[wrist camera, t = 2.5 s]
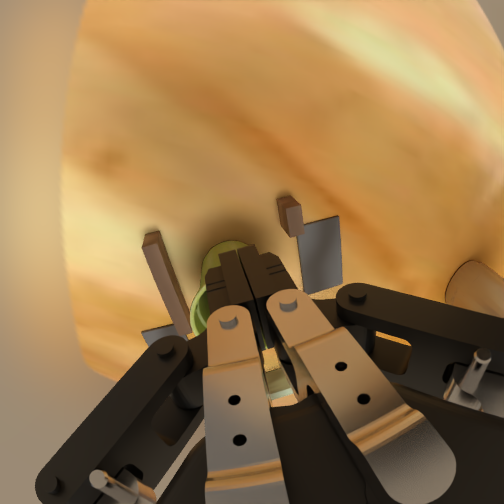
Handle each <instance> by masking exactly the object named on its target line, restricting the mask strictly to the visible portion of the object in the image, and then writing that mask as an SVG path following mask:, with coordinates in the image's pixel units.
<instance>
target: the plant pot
mask: <svg viewBox="0 0 504 504" xmlns="http://www.w3.org/2000/svg"><path fill="white" fill-rule="evenodd" d="M245 246H249V245H247V244H245V243H242V242H240V241H226V242H223V243H220V244H218V245H216V246H214V247H213V248H212V249H211V250H210V251H209V253H208V254H207V255H206V257H205V258H204V260H203V264H202V272H201V281H200V289H199V291H198V292H197V294H196V296H195V297H194V299H193V302H192V305H191V309H190V323H191V327H192V330H193V332H194V334H195V336H198V335H200V334H201V333H202V332H203V331H204V330H205V329H206V328H207V321H208V318H209V317H210V310H209V304H208V297H207V291H206V284H205V275H206V273H207V271H208V269H210V268H214V267H218V266H221V264H220V260H219V256H218V254H219V253H223V252H227V251H230V250H234V249H235V250H236V253H237V249H238V248H241V247H245ZM237 255H238V253H237ZM238 258H239V257H238ZM262 336H263V335H262ZM263 340H264V337H263ZM264 344H265V348H266V349H267V346H266V343H265V340H264Z"/></svg>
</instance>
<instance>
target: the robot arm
mask: <svg viewBox="0 0 504 504" xmlns="http://www.w3.org/2000/svg"><path fill="white" fill-rule="evenodd" d="M237 253H238V255H237ZM237 253H236V250H235V249H234V250H230V251H227V252H223V253H219V254H218V256H219V260H220V264H221V266H218V267H214V268H210V269H208V271H207V273H206V275H205V284H206V291H207V297H208V304H209V310H210V317H209V318H208V321H207V328H206V329H205V330H204V331H203V332H202V333H201V334H200V335H198V336H196V337H194V338H192V339H191V340H189V341H186V340H185V339H184V338H182V337H180V336H176V335H170V336H165V337H162V338H160V339H158V340H156V341H155V342H154V343H152V344H151V345H150V346H149V348H148V349H147V350H146V351H145V352H144V353H143V354H142V355H141V357H140V358H139V359H138V360H137V361H136V362H135V363H134V364H133V366H132V367H131V368H130V369H129V370H128V371H127V372H126V373H125V375H124V376H123V377H122V378H121V379H120V380H119V381H118V382H117V384H116V385H115V386H114V387H113V388H112V389H111V390H110V392H109V393H108V394H107V395H106V396H105V397H104V398H103V400H102V401H101V402H100V403H99V404H98V405H97V406H96V408H95V409H94V410H93V411H92V412H91V413H90V414H89V416H88V417H87V418H86V419H85V420H84V421H83V422H82V424H81V425H80V426H79V427H78V428H77V429H76V431H75V432H74V433H73V434H72V435H71V436H70V438H69V439H68V440H67V441H66V442H65V443H64V444H63V445H62V447H61V448H60V449H59V450H58V451H57V453H56V454H55V455H54V456H53V457H52V458H51V460H50V461H49V462H48V463H47V464H46V465H45V467H44V468H43V469H42V470H41V471H40V473H39V474H38V476H37V479H36V482H35V490H36V494H37V497H38V499H39V500H40V501H41V502H42V503H43V504H504V278H502V277H501V276H500V275H498V274H497V273H496V272H494V271H493V270H492V269H490V268H489V267H488V266H486V265H485V264H484V263H482V262H480V263H478V262H476V261H469V262H467V263H465V264H464V265H463V266H461V267H460V268H459V269H458V271H457V272H456V273H455V275H454V276H453V277H452V279H451V281H450V283H449V285H448V288H447V291H446V296H445V299H446V303H447V304H444V303H440V302H436V301H432V300H428V299H424V298H420V297H416V296H412V295H408V294H404V293H400V292H397V291H393V290H389V289H385V288H381V287H377V286H373V285H369V284H365V283H352V284H348V285H345V286H343V287H342V288H340V289H339V290H338V292H337V294H336V299H325V300H316V299H311V298H310V297H309V296H308V295H307V294H306V293H305V292H304V291H301V290H298V288H297V287H296V285H295V283H294V282H293V280H292V279H291V277H290V275H289V274H288V272H287V271H286V269H285V267H284V265H283V264H282V262H281V260H280V259H279V257H278V256H276V255H274V254H272V253H270V252H268V253H265V254H261V255H259V253H258V251H257V249H256V247H255V245H254V244H252V245H249V246H245V247H241V248H238V249H237ZM238 257H239V258H238ZM376 331H378V332H381V333H385V334H388V335H391V336H395V337H398V338H401V339H404V340H406V341H408V342H409V343H410V344H411V346H408V345H404V344H401V343H398V342H394V341H391V340H388V339H384V338H381V337H378V336H376ZM262 335H263V336H262ZM263 337H264V340H265V343H266V346H267V348H268V349H270V348H273V347H274V348H275V351H276V353H277V358H278V363H279V365H280V367H281V369H282V371H283V373H284V375H285V377H286V379H287V381H288V383H289V385H290V387H291V389H292V391H293V393H294V395H295V397H296V399H297V401H298V403H296V404H294V405H291V406H281V407H273V404H272V400H271V395H270V391H269V386H268V382H267V378H266V373H265V369H264V358H263V354H262V351H263V350H266V348H265V344H264V340H263ZM168 396H169V397H168ZM203 419H204V420H205V437H204V438H202V439H201V440H200V441H199V442H198V443H197V444H196V445H195V446H194V447H193V448H192V450H191V451H190V452H189V454H188V455H187V457H186V458H185V460H184V462H183V463H182V465H181V466H180V468H179V469H178V471H177V472H176V474H175V475H174V477H173V479H172V480H171V482H170V483H169V485H168V486H167V488H166V489H165V491H164V492H163V494H162V495H161V497H160V498H159V500H158V501H156V495H155V493H154V491H153V490H154V489H155V487H156V486H157V484H158V483H159V482H160V481H161V479H162V478H163V476H164V475H165V474H166V472H167V471H168V469H169V468H170V467H171V465H172V464H173V462H174V461H175V460H176V458H177V457H178V455H179V454H180V453H181V451H182V450H183V448H184V447H185V445H186V444H187V442H188V441H189V439H190V438H191V437H192V435H193V434H194V432H195V431H196V429H197V428H198V426H199V425H200V423H201V422H202V420H203ZM156 502H157V503H156Z"/></svg>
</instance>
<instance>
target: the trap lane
mask: <svg viewBox="0 0 504 504" xmlns="http://www.w3.org/2000/svg"><path fill="white" fill-rule="evenodd" d="M277 204H278V210H279V216H280V222H281V226H282V228H283V229H284V230H285V232H286V233H287V234H288V236H289V237H290V238H291V237H295V236H297V242H298V249H299V257H300V264H301V272H302V280H303V288H304V292H305V293H306V294H307V295H309V294H312V293H316V292H319V291H322V290H325V289H328V288H331V287H334V286H337V285H340V284H343V279H342V255H341V238H340V223H339V216H335V217H331V218H327V219H323V220H319V221H316V222H312V223H308V224H304V223H303V216H302V208H301V204H299V203H298V202H297V201H296V200H295V199H294V198H293V197H292V196H288V197H283V198H279V199H277ZM142 250H143V252H144V255H145V258H146V260H147V263H148V265H149V268H150V270H151V273H152V275H153V277H154V280H155V282H156V285H157V287H158V289H159V292H160V294H161V296H162V299H163V301H164V303H165V306H166V308H167V310H168V312H169V315H170V317H171V319H172V321H173V323H174V324H171V325H167V326H163V327H159V328H155V329H151V330H146V331H142V332H141V334H142V335H143V337H144V339H145V341H146V343H147V344H148V346H150V345H151V344H152V343H154V342H155V341H156V340H158V339H160V338H162V337H165V336H170V335H176V336H180V337H182V338H184V339H185V340H186V341H189V340H188V338H187V336H186V334H190V333H192V327H191V323H190V312H189V309H188V307H187V304H186V302H185V299H184V297H183V294H182V292H181V289H180V286H179V284H178V281H177V279H176V276H175V273H174V271H173V268H172V265H171V262H170V260H169V257H168V254H167V251H166V249H165V246H164V243H163V240H162V237H161V234H160V231H156V232H153V233H150V234H146V235H145V238H144V241H143V245H142ZM266 378H267V382H268V386H269V391H270V395H271V400H274V399H277V398H280V397H284V396H287V395H290V394H293V391H292V389H291V387H290V385H289V383H288V381H287V379H286V377H285V375H284V373H283V371H282V369H281V368H279V369H276V370H273V371H269V372H266Z"/></svg>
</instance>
